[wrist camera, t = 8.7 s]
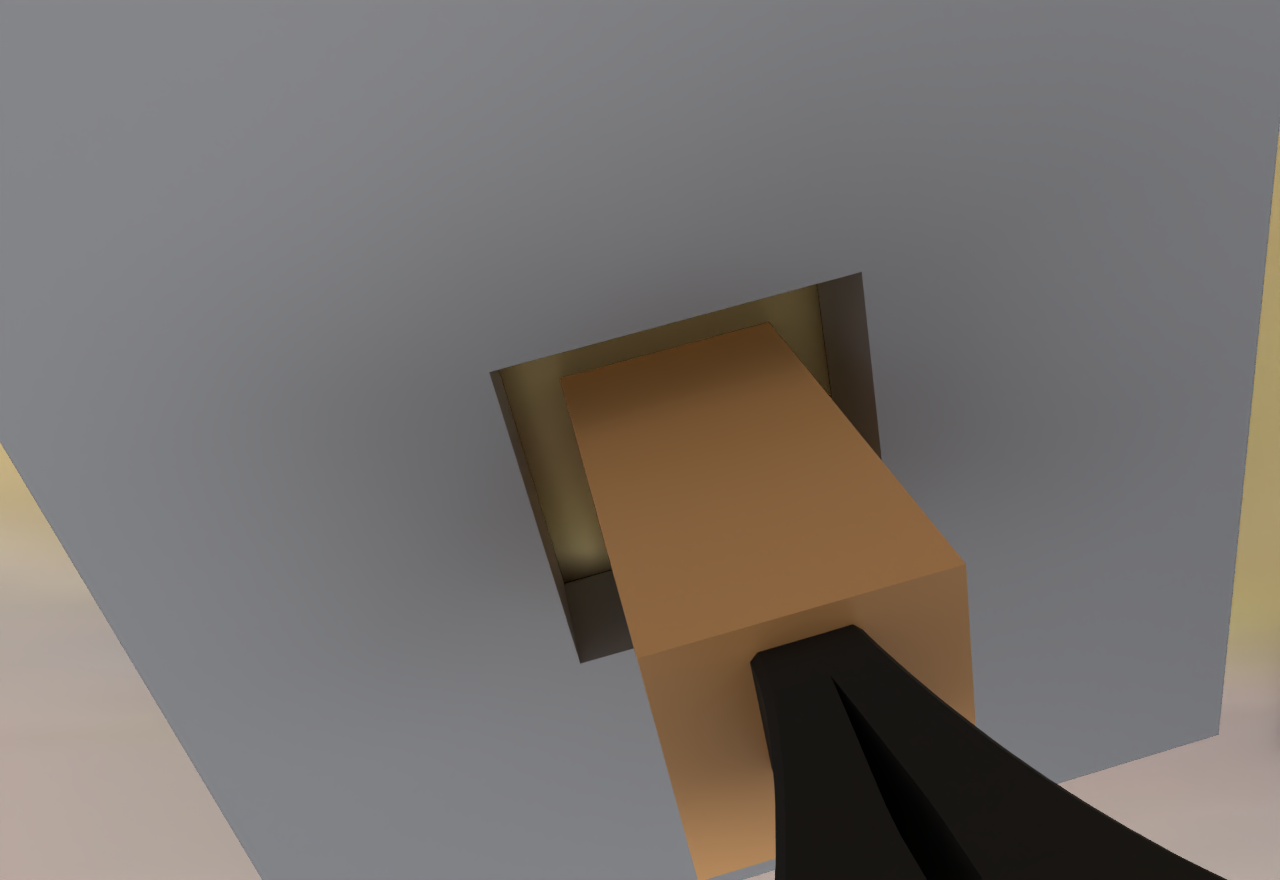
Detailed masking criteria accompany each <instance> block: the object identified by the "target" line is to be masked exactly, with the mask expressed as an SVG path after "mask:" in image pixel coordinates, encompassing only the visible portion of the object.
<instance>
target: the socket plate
mask: <svg viewBox="0 0 1280 880" xmlns="http://www.w3.org/2000/svg"><path fill="white" fill-rule="evenodd" d="M1279 124H1280V0H0V443H1V444H2V446H3V448H4V449H5V451H6V453H7V454H8V456H9V458H10V459H11V461H12V463H13V464H14V466H15V468H16V469H17V471H18V473H19V474H20V476H21V478H22V479H23V481H24V483H25V484H26V486H27V488H28V489H29V491H30V493H31V494H32V496H33V498H34V499H35V501H36V503H37V504H38V506H39V508H40V509H41V511H42V513H43V514H44V516H45V518H46V519H47V521H48V523H49V524H50V526H51V528H52V529H53V531H54V533H55V534H56V536H57V538H58V539H59V541H60V543H61V544H62V546H63V548H64V549H65V551H66V553H67V554H68V556H69V558H70V559H71V561H72V563H73V565H74V566H75V568H76V570H77V571H78V573H79V575H80V576H81V578H82V580H83V581H84V583H85V585H86V586H87V588H88V590H89V591H90V593H91V595H92V596H93V598H94V600H95V601H96V603H97V605H98V606H99V608H100V610H101V611H102V613H103V615H104V616H105V618H106V620H107V621H108V623H109V625H110V626H111V628H112V630H113V631H114V633H115V635H116V636H117V638H118V640H119V641H120V643H121V645H122V646H123V648H124V650H125V651H126V653H127V655H128V656H129V658H130V660H131V661H132V663H133V665H134V666H135V668H136V670H137V671H138V673H139V675H140V676H141V678H142V680H143V681H144V683H145V685H146V686H147V688H148V690H149V691H150V693H151V695H152V696H153V698H154V700H155V701H156V703H157V705H158V706H159V708H160V710H161V711H162V713H163V715H164V716H165V718H166V720H167V721H168V723H169V725H170V726H171V728H172V730H173V731H174V733H175V735H176V736H177V738H178V740H179V742H180V743H181V745H182V747H183V748H184V750H185V752H186V753H187V755H188V757H189V758H190V760H191V762H192V763H193V765H194V767H195V768H196V770H197V772H198V773H199V775H200V777H201V778H202V780H203V782H204V783H205V785H206V787H207V788H208V790H209V792H210V793H211V795H212V797H213V798H214V800H215V802H216V803H217V805H218V807H219V808H220V810H221V812H222V813H223V815H224V817H225V818H226V820H227V822H228V823H229V825H230V827H231V828H232V830H233V832H234V833H235V835H236V837H237V838H238V840H239V842H240V843H241V845H242V847H243V848H244V850H245V852H246V853H247V855H248V857H249V858H250V860H251V862H252V863H253V865H254V867H255V868H256V870H257V872H258V873H259V875H260V877H261V878H262V880H698V879H697V876H696V872H695V868H694V865H693V861H692V857H691V854H690V850H689V847H688V843H687V839H686V836H685V832H684V828H683V825H682V821H681V818H680V814H679V810H678V807H677V803H676V799H675V796H674V792H673V789H672V785H671V781H670V778H669V774H668V771H667V767H666V763H665V760H664V756H663V752H662V749H661V745H660V742H659V738H658V734H657V731H656V727H655V723H654V720H653V716H652V713H651V709H650V705H649V702H648V698H647V694H646V691H645V687H644V684H643V680H642V676H641V673H640V669H639V666H638V662H637V658H636V655H635V651H634V647H633V644H632V640H631V637H630V633H629V629H628V626H627V622H626V618H625V615H624V611H623V608H622V604H621V600H620V597H619V593H618V589H617V586H616V582H615V579H614V575H613V571H608V572H605V573H601V574H598V575H594V576H590V577H587V578H583V579H580V580H576V581H573V582H569V583H566V584H564V581H563V578H562V575H561V572H560V568H559V565H558V562H557V559H556V555H555V552H554V549H553V546H552V542H551V539H550V536H549V533H548V529H547V526H546V523H545V520H544V516H543V513H542V510H541V507H540V503H539V500H538V497H537V494H536V490H535V487H534V484H533V481H532V477H531V474H530V471H529V468H528V464H527V461H526V458H525V455H524V451H523V448H522V445H521V442H520V438H519V435H518V432H517V429H516V425H515V422H514V419H513V416H512V412H511V409H510V406H509V403H508V399H507V396H506V393H505V389H504V386H503V383H502V380H501V376H500V373H499V369H503V368H507V367H510V366H514V365H518V364H522V363H525V362H529V361H533V360H536V359H540V358H544V357H548V356H551V355H555V354H559V353H562V352H566V351H570V350H574V349H577V348H581V347H585V346H588V345H592V344H596V343H599V342H603V341H607V340H611V339H614V338H618V337H622V336H625V335H629V334H633V333H637V332H640V331H644V330H648V329H651V328H655V327H659V326H663V325H666V324H670V323H674V322H677V321H681V320H685V319H689V318H692V317H696V316H700V315H703V314H707V313H711V312H715V311H718V310H722V309H726V308H729V307H733V306H737V305H741V304H744V303H748V302H752V301H755V300H759V299H763V298H766V297H770V296H774V295H778V294H781V293H785V292H789V291H792V290H796V289H800V288H804V287H807V286H811V285H815V284H817V287H818V294H819V302H820V310H821V317H822V325H823V333H824V340H825V348H826V356H827V364H828V371H829V379H830V387H831V394H832V400H833V401H834V403H835V404H836V405H837V406H838V408H839V409H840V410H841V411H842V412H843V414H844V415H845V416H846V417H847V419H848V420H849V421H850V422H851V423H852V425H853V426H854V427H855V428H856V430H857V431H858V432H859V433H860V435H861V436H862V437H863V438H864V439H865V441H866V442H867V443H868V444H869V446H870V447H871V448H872V449H873V450H874V452H875V453H876V454H877V455H878V457H879V458H880V459H881V460H882V462H883V463H884V464H885V465H886V466H887V468H888V469H889V470H890V471H891V473H892V474H893V475H894V476H895V477H896V479H897V480H898V481H899V482H900V484H901V485H902V486H903V487H904V489H905V490H906V491H907V492H908V493H909V495H910V496H911V497H912V498H913V500H914V501H915V502H916V503H917V504H918V506H919V507H920V508H921V509H922V511H923V512H924V513H925V514H926V516H927V517H928V518H929V519H930V520H931V522H932V523H933V524H934V525H935V527H936V528H937V529H938V530H939V531H940V533H941V534H942V535H943V536H944V538H945V539H946V540H947V541H948V543H949V544H950V545H951V546H952V547H953V549H954V550H955V551H956V552H957V554H958V555H959V556H960V557H961V558H962V560H963V561H964V562H965V563H966V573H967V590H968V606H969V622H970V639H971V655H972V671H973V687H974V704H975V720H976V727H977V728H979V729H980V730H981V731H983V732H984V733H985V734H987V735H988V736H989V737H991V738H992V739H993V740H995V741H996V742H997V743H999V744H1000V745H1001V746H1003V747H1004V748H1006V749H1007V750H1008V751H1010V752H1011V753H1012V754H1014V755H1015V756H1017V757H1018V758H1020V759H1021V760H1022V761H1024V762H1025V763H1027V764H1028V765H1030V766H1031V767H1033V768H1034V769H1035V770H1037V771H1038V772H1040V773H1041V774H1043V775H1044V776H1046V777H1047V778H1048V779H1050V780H1052V781H1053V782H1055V783H1056V784H1058V783H1061V782H1065V781H1068V780H1071V779H1074V778H1078V777H1081V776H1084V775H1088V774H1091V773H1094V772H1097V771H1101V770H1104V769H1107V768H1111V767H1114V766H1117V765H1120V764H1124V763H1127V762H1130V761H1134V760H1137V759H1140V758H1143V757H1147V756H1150V755H1153V754H1157V753H1160V752H1163V751H1166V750H1170V749H1173V748H1176V747H1179V746H1183V745H1186V744H1189V743H1193V742H1196V741H1199V740H1202V739H1206V738H1209V737H1212V736H1216V735H1218V734H1219V724H1220V714H1221V704H1222V694H1223V684H1224V674H1225V664H1226V654H1227V644H1228V634H1229V624H1230V614H1231V604H1232V594H1233V584H1234V574H1235V564H1236V554H1237V544H1238V534H1239V524H1240V514H1241V504H1242V494H1243V484H1244V474H1245V464H1246V454H1247V444H1248V434H1249V424H1250V414H1251V404H1252V394H1253V384H1254V374H1255V364H1256V354H1257V344H1258V334H1259V324H1260V314H1261V304H1262V294H1263V284H1264V274H1265V264H1266V254H1267V244H1268V234H1269V224H1270V214H1271V204H1272V194H1273V184H1274V174H1275V164H1276V154H1277V144H1278V134H1279ZM775 863H776V859H772V860H769V861H766V862H762V863H759V864H756V865H753V866H749V867H746V868H743V869H739V870H736V871H733V872H729V873H726V874H723V875H720V876H716V877H713V878H710V879H706V880H743V879H746V878H750V877H753V876H756V875H759V874H763V873H766V872H769V871H773V870H775Z"/></svg>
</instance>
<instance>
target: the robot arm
mask: <svg viewBox="0 0 1280 880" xmlns="http://www.w3.org/2000/svg"><path fill="white" fill-rule="evenodd" d="M750 665H751V670H752V675H753V680H754V685H755V690H756V694H757V699H758V704H759V709H760V714H761V719H762V724H763V729H764V733H765V738H766V743H767V748H768V753H769V758H770V763H771V768H772V771H773V776H774V789H775V838H776V863H775V880H1227V879H1224V878H1222V877H1220V876H1218V875H1216V874H1214V873H1212V872H1210V871H1208V870H1206V869H1204V868H1202V867H1200V866H1198V865H1196V864H1194V863H1192V862H1190V861H1188V860H1186V859H1184V858H1182V857H1180V856H1178V855H1176V854H1174V853H1172V852H1171V851H1169V850H1167V849H1165V848H1163V847H1162V846H1160V845H1158V844H1156V843H1154V842H1152V841H1151V840H1149V839H1147V838H1145V837H1143V836H1142V835H1140V834H1138V833H1136V832H1134V831H1133V830H1131V829H1129V828H1127V827H1126V826H1124V825H1122V824H1121V823H1119V822H1117V821H1116V820H1114V819H1112V818H1111V817H1109V816H1107V815H1106V814H1104V813H1102V812H1101V811H1099V810H1097V809H1095V808H1094V807H1092V806H1090V805H1089V804H1087V803H1086V802H1084V801H1082V800H1081V799H1079V798H1078V797H1076V796H1075V795H1073V794H1071V793H1070V792H1068V791H1067V790H1065V789H1064V788H1062V787H1061V786H1059V785H1058V784H1056V783H1055V782H1053V781H1052V780H1050V779H1048V778H1047V777H1046V776H1044V775H1043V774H1041V773H1040V772H1038V771H1037V770H1035V769H1034V768H1033V767H1031V766H1030V765H1028V764H1027V763H1025V762H1024V761H1022V760H1021V759H1020V758H1018V757H1017V756H1015V755H1014V754H1012V753H1011V752H1010V751H1008V750H1007V749H1006V748H1004V747H1003V746H1001V745H1000V744H999V743H997V742H996V741H995V740H993V739H992V738H991V737H989V736H988V735H987V734H985V733H984V732H983V731H981V730H980V729H979V728H977V727H976V726H975V725H974V724H972V723H971V722H970V721H968V720H967V719H966V718H965V717H963V716H962V715H961V714H959V713H958V712H957V711H956V710H954V709H953V708H952V707H950V706H949V705H948V704H947V703H945V702H944V701H943V700H942V699H941V698H939V697H938V696H937V695H936V694H934V693H933V692H932V691H931V690H930V689H928V688H927V687H926V686H925V685H924V684H923V683H921V682H920V681H919V680H918V679H917V678H915V677H914V676H913V675H912V674H911V673H910V672H908V671H907V670H906V669H905V668H904V667H903V666H902V665H900V664H899V663H898V662H897V661H896V660H895V659H894V658H893V657H892V656H890V655H889V654H888V653H887V652H886V651H885V650H884V649H883V648H882V647H881V646H880V645H878V644H877V643H876V642H875V641H874V640H873V639H872V638H871V637H870V636H869V635H868V634H867V633H866V632H865V631H864V630H863V629H861V628H859V627H857V626H855V625H854V624H852V625H849V626H845V627H842V628H839V629H835V630H832V631H828V632H825V633H822V634H818V635H815V636H812V637H808V638H805V639H801V640H798V641H794V642H791V643H788V644H784V645H781V646H777V647H774V648H770V649H767V650H764V651H760V652H757V653H756V655H755V656H754V657H753V659H752V660H751V661H750Z"/></svg>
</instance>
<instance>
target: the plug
mask: <svg viewBox="0 0 1280 880" xmlns="http://www.w3.org/2000/svg"><path fill="white" fill-rule="evenodd" d="M560 382H561V385H562V389H563V392H564V396H565V400H566V403H567V407H568V411H569V414H570V418H571V422H572V425H573V429H574V433H575V436H576V440H577V444H578V447H579V451H580V455H581V458H582V462H583V466H584V469H585V473H586V477H587V480H588V484H589V487H590V491H591V495H592V498H593V502H594V506H595V509H596V513H597V517H598V520H599V524H600V528H601V531H602V535H603V539H604V542H605V546H606V550H607V553H608V557H609V560H610V564H611V568H612V571H613V575H614V579H615V582H616V586H617V589H618V593H619V597H620V600H621V604H622V608H623V611H624V615H625V618H626V622H627V626H628V629H629V633H630V637H631V640H632V644H633V647H634V651H635V655H636V658H637V662H638V666H639V669H640V673H641V676H642V680H643V684H644V687H645V691H646V694H647V698H648V702H649V705H650V709H651V713H652V716H653V720H654V723H655V727H656V731H657V734H658V738H659V742H660V745H661V749H662V752H663V756H664V760H665V763H666V767H667V771H668V774H669V778H670V781H671V785H672V789H673V792H674V796H675V799H676V803H677V807H678V810H679V814H680V818H681V821H682V825H683V828H684V832H685V836H686V839H687V843H688V847H689V850H690V854H691V857H692V861H693V865H694V868H695V872H696V876H697V879H698V880H706V879H710V878H713V877H716V876H720V875H723V874H726V873H729V872H733V871H736V870H739V869H743V868H746V867H749V866H753V865H756V864H759V863H762V862H766V861H769V860H772V859H776V838H775V789H774V776H773V771H772V768H771V763H770V758H769V753H768V748H767V743H766V738H765V733H764V729H763V724H762V719H761V714H760V709H759V704H758V699H757V694H756V690H755V685H754V680H753V675H752V670H751V665H750V661H751V660H752V659H753V657H754V656H755V655H756V653H757V652H760V651H764V650H767V649H770V648H774V647H777V646H781V645H784V644H788V643H791V642H794V641H798V640H801V639H805V638H808V637H812V636H815V635H818V634H822V633H825V632H828V631H832V630H835V629H839V628H842V627H845V626H849V625H852V624H854V625H855V626H857V627H859V628H861V629H863V630H864V631H865V632H866V633H867V634H868V635H869V636H870V637H871V638H872V639H873V640H874V641H875V642H876V643H877V644H878V645H880V646H881V647H882V648H883V649H884V650H885V651H886V652H887V653H888V654H889V655H890V656H892V657H893V658H894V659H895V660H896V661H897V662H898V663H899V664H900V665H902V666H903V667H904V668H905V669H906V670H907V671H908V672H910V673H911V674H912V675H913V676H914V677H915V678H917V679H918V680H919V681H920V682H921V683H923V684H924V685H925V686H926V687H927V688H928V689H930V690H931V691H932V692H933V693H934V694H936V695H937V696H938V697H939V698H941V699H942V700H943V701H944V702H945V703H947V704H948V705H949V706H950V707H952V708H953V709H954V710H956V711H957V712H958V713H959V714H961V715H962V716H963V717H965V718H966V719H967V720H968V721H970V722H971V723H972V724H974V725H975V726H976V720H975V704H974V687H973V671H972V655H971V639H970V622H969V606H968V590H967V573H966V563H965V562H964V561H963V560H962V558H961V557H960V556H959V555H958V554H957V552H956V551H955V550H954V549H953V547H952V546H951V545H950V544H949V543H948V541H947V540H946V539H945V538H944V536H943V535H942V534H941V533H940V531H939V530H938V529H937V528H936V527H935V525H934V524H933V523H932V522H931V520H930V519H929V518H928V517H927V516H926V514H925V513H924V512H923V511H922V509H921V508H920V507H919V506H918V504H917V503H916V502H915V501H914V500H913V498H912V497H911V496H910V495H909V493H908V492H907V491H906V490H905V489H904V487H903V486H902V485H901V484H900V482H899V481H898V480H897V479H896V477H895V476H894V475H893V474H892V473H891V471H890V470H889V469H888V468H887V466H886V465H885V464H884V463H883V462H882V460H881V459H880V458H879V457H878V455H877V454H876V453H875V452H874V450H873V449H872V448H871V447H870V446H869V444H868V443H867V442H866V441H865V439H864V438H863V437H862V436H861V435H860V433H859V432H858V431H857V430H856V428H855V427H854V426H853V425H852V423H851V422H850V421H849V420H848V419H847V417H846V416H845V415H844V414H843V412H842V411H841V410H840V409H839V408H838V406H837V405H836V404H835V403H834V401H833V400H832V399H831V398H830V396H829V395H828V394H827V393H826V392H825V390H824V389H823V388H822V387H821V385H820V384H819V383H818V382H817V381H816V379H815V378H814V377H813V376H812V374H811V373H810V372H809V371H808V369H807V368H806V367H805V366H804V365H803V363H802V362H801V361H800V360H799V358H798V357H797V356H796V355H795V354H794V352H793V351H792V350H791V349H790V347H789V346H788V345H787V344H786V342H785V341H784V340H783V339H782V338H781V336H780V335H779V334H778V333H777V331H776V330H775V329H774V328H773V327H772V325H771V324H770V323H769V322H767V323H763V324H760V325H756V326H752V327H749V328H745V329H741V330H737V331H734V332H730V333H726V334H723V335H719V336H715V337H711V338H708V339H704V340H700V341H697V342H693V343H689V344H685V345H682V346H678V347H674V348H671V349H667V350H663V351H659V352H656V353H652V354H648V355H645V356H641V357H637V358H633V359H630V360H626V361H622V362H619V363H615V364H611V365H607V366H604V367H600V368H596V369H593V370H589V371H585V372H582V373H578V374H574V375H570V376H567V377H563V378H560Z"/></svg>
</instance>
